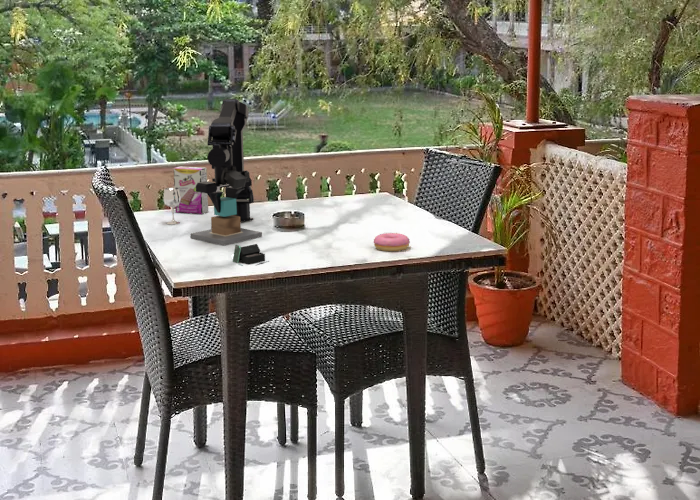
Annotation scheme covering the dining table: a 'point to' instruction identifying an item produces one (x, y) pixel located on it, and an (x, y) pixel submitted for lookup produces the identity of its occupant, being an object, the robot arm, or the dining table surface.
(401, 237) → the doughnut
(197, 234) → the base plate
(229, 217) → the walnut block
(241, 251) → the dark stepped block
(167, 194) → the wineglass
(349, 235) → the dining table surface
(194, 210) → the candy bar box
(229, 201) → the teal block
